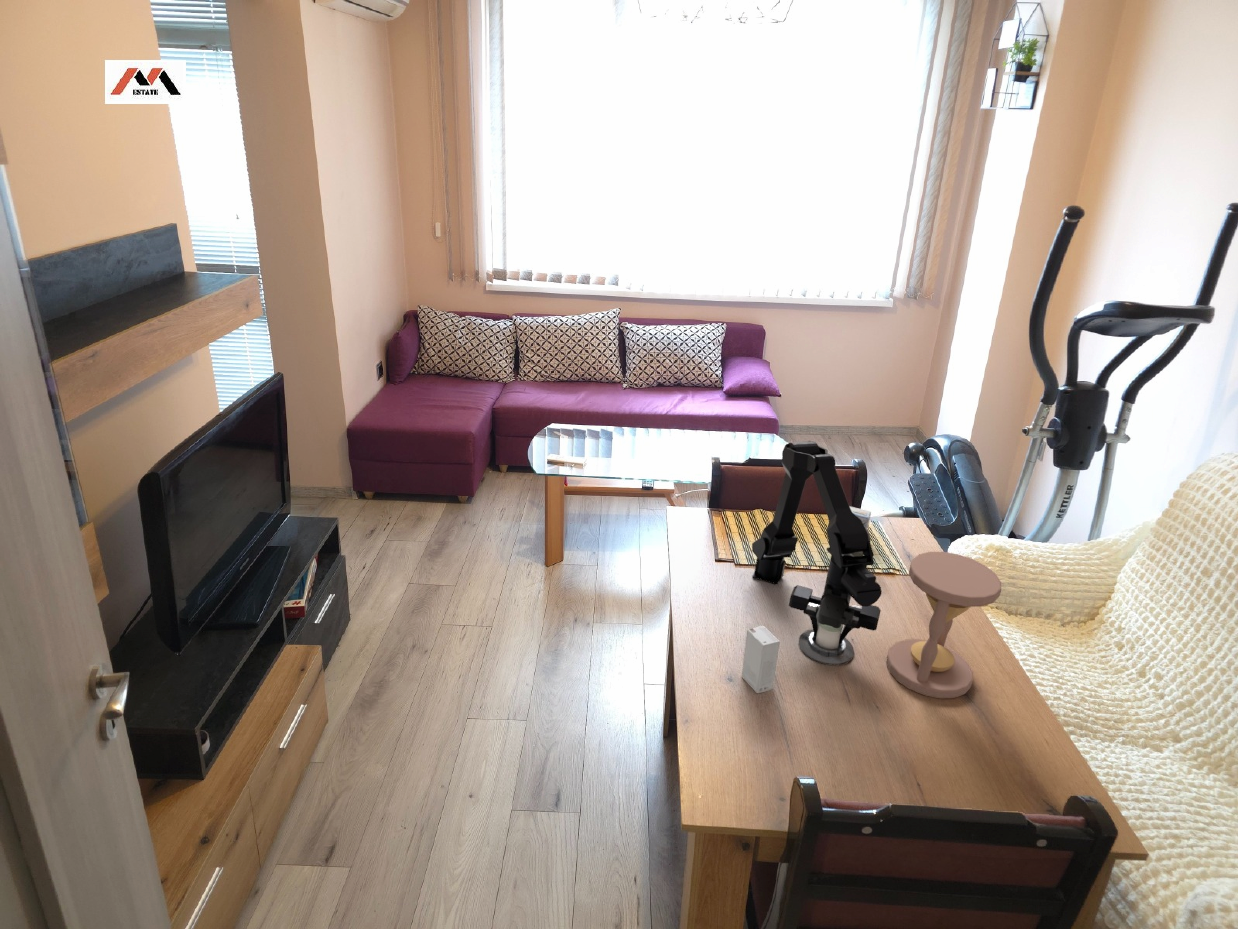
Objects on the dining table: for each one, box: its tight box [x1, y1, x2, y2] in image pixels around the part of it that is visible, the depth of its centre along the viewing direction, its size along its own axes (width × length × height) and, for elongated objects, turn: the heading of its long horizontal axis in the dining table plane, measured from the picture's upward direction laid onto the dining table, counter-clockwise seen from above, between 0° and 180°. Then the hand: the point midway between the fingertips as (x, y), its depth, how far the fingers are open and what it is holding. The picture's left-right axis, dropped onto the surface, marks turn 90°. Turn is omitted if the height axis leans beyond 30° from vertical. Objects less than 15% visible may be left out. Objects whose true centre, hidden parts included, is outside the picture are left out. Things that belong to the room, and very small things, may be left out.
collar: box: [798, 629, 855, 666], centre depth 178 cm, size 12×12×2 cm
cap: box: [815, 623, 844, 650], centre depth 177 cm, size 5×5×6 cm
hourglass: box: [885, 551, 1002, 700], centre depth 168 cm, size 18×18×25 cm
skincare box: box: [741, 625, 781, 694], centre depth 164 cm, size 6×4×12 cm
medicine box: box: [850, 506, 872, 530], centre depth 223 cm, size 8×4×9 cm, turn 65°
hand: (827, 639), depth 178 cm, fingers closed on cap, 5 cm apart
